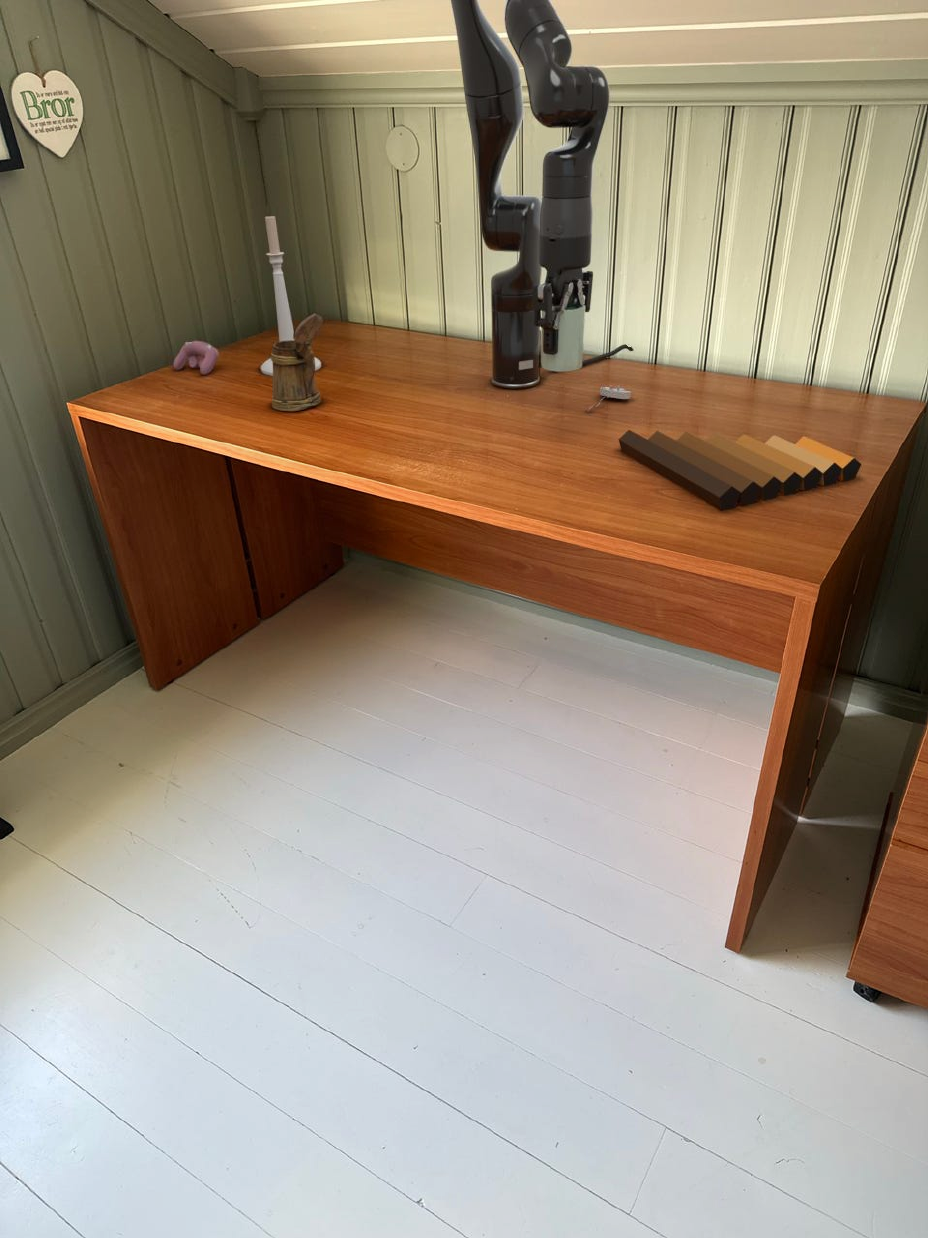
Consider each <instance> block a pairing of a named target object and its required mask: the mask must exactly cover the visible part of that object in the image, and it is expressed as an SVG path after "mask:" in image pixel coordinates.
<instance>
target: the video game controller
mask: <svg viewBox="0 0 928 1238" xmlns="http://www.w3.org/2000/svg"><path fill="white" fill-rule="evenodd" d="M219 356H220V354H219V350H218V349H217V348H216V347H214V346H213V345H211V344H210V343H208V342H206V341H201V340H193V341H190V342H189V341H186V342H185V343H184V344H183V345H182V347H181V348H180V350H179V352H178V354H177V355H176V356H175V358H174V360H173V363H172V365H173V369H174V370H175V371H179V370H180V371H181V370H182V369H183V368H184V367H185V366H187V364H188V365H189V367H190V368H193V369H199V372H200V374H201V375H203V376H206V375H208V374H210V373H211V372H212V370H213V369H214V367H215V366H216V364H217V363H216V362H217V361H218V359H219ZM200 357H202V358H201V359H200Z"/></svg>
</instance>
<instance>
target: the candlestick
mask: <svg viewBox="0 0 928 1238" xmlns="http://www.w3.org/2000/svg"><path fill="white" fill-rule="evenodd" d="M276 220H277V219H276V216H274V215H273V216H272V215H271V214H269V215H268V216H265V217H264V221H265V229H266V234H267V242H268V248H269V249H268V250H269V252H267V253H266V254H265V255H266V256H267V257H268V258H269V264H271V267H272V269H273V271H272V277H273V286H274V287H273V288H274V297H275V308H276V318H277V330H278V338H279V341H278V342H281V341H288V340H294V338H293V334H294V330H295V329H294V326H293V321H292V313H291V310H290V304H289V299H288V293H287V289H286V283H285V278H284V272H283V270H282V266H283V265H282V264H283V263H284V259H283V256H284V255H285V252H284V251H281V249H280V248H281V247H280V242H279V235H278V227H277V221H276ZM314 358H315V372H316V371H318V370H320V369H321V367H322V362H321V361H320V360H319V358H317V357H315V356H314ZM260 372H261V373H262V374H264V375H265V376H269V377H270V376H271V377H273V362H272V361H271V357H270V358H268V359H267V360H265V361H264V362H263V363H262V364H261V366H260Z"/></svg>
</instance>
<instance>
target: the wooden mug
mask: <svg viewBox="0 0 928 1238" xmlns="http://www.w3.org/2000/svg"><path fill="white" fill-rule="evenodd" d="M323 324H324V321H323V316H322V315H321V314H320V313H319V312H316V311H312V312H311V313H310V314H308V315H307V316H305V317H304V318H302V319H301V320H300V321H299V322H298V324H297V325H296V327H295V329H293V330H294V334H293V338H294V340H288V341H281V342H280V341H278V342H276V341H275V342H273V344H272V352H271V354H270V358H271V361H272V362H273V376H272V398H271V407H272V408H273V410H277V411H281V412H301V411H305V410H306V411H307V410H310V409H313V408H315V407H318V406H319V405H320V404H321V401H322V398H321V393H320V392H319V390H318V388H317V387H318V386H317V384H316V380H315V372H316V371H315V358H316V357H315V353H314V351H313V348H312V346H311V345H312V343H313V341H314V340H315V339H316V337H318V335H319V334H320V332H321V330H322V327H323ZM314 357H315V358H314Z"/></svg>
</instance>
